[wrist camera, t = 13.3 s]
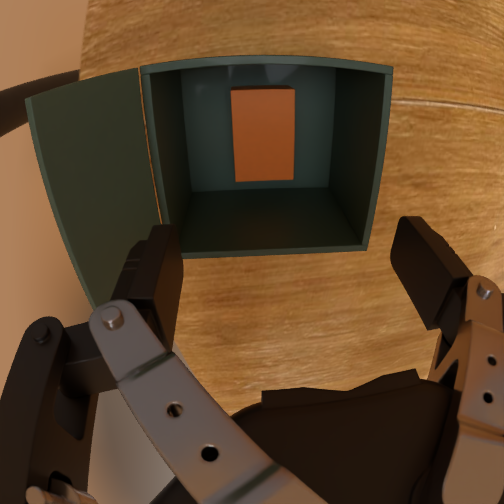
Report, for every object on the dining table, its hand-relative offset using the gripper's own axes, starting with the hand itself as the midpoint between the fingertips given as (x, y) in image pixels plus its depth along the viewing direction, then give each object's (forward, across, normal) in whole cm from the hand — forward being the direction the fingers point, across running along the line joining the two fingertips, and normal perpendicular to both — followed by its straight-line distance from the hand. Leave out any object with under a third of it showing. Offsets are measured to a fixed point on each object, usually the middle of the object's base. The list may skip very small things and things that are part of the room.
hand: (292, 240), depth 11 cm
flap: (+3, +7, 0) cm, 8 cm away
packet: (+16, 0, 0) cm, 16 cm away
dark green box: (+16, 0, 0) cm, 16 cm away
